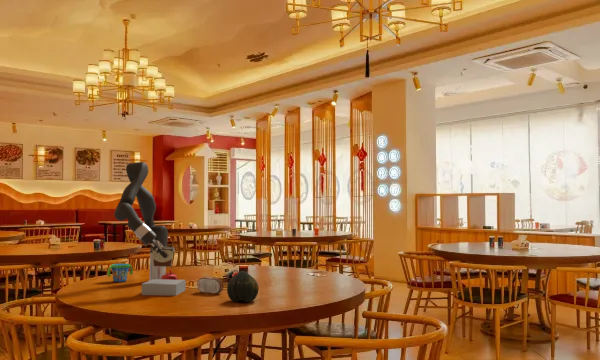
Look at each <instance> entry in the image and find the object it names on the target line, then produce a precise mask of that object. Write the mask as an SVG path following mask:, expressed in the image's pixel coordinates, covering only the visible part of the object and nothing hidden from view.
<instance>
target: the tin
mask: <svg viewBox="0 0 600 360" xmlns="http://www.w3.org/2000/svg"><path fill="white" fill-rule="evenodd" d="M196 285H197V286H196V287H197V289H198V291H199V292H200V293H202V294H209V293H211V295H218V294H221V293H222V292H223V290H224V282H223V281H222V279H221V278H220V277H214V276H213V277H212V276H203V277H200V278H199V279H198V280H197V283H196Z"/></svg>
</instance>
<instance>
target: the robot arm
mask: <svg viewBox="0 0 600 360" xmlns="http://www.w3.org/2000/svg"><path fill="white" fill-rule="evenodd" d="M125 168H126V169H125V172H126V175H127V178H128V180H129V182H130V183H129V184H128V185H127V186H126V187H125V188H124V190H123V192H122V195H121V197H120V200H119V203H118V204H117V206H116V207H115V209H114V214H113V215H114V217H115V219H116V220H118V221H120V222H121V221H123V222H124V221H125V220H127V227H128V228H129V229H130V230H131V231H132V232H133V233H134V234H135V236H136V238H138V239H139V240H140V241H141V242H142V243H143V244H144V245H145V246H148V245H149V247H150V249H149V281H150V280H152V279H161V277H162V276H163V275H165V274H167V271H166V270H167V269H166V268H167V267H154V266H153V252H152V251H151V250H152V248H153V249H154V250H155V251H156V252H157V253H159V254H161V255H162V257H163V258H166V257H167V256H168V255H167V254H166V253H165V252H164V251H163V250H162V249H161V247H168V241H169V240H168V237H169V232H168V231H169V230H168V228H167V226H165V225H156V224H155V220H154V215H155V212H156V209H157V205H156V204H157V203H156V201H155V198H154V195H153V194H152V192H150V191H149V190H148V189H147V188H146V187H145V186H144V185H143V184H144V183H145V181H146V179H147V176H148V174H149V166H148V164H147V163H146V162H144V161H139V162H131V163H128V164H127V165H126V166H125ZM136 200H137V203H138V207H139V209H140V212H141V215H142V218H143V220H141V218H139V216H138V214H137V212H136V210H135V209H134V206H133V205H134V203H135V201H136ZM165 272H166V273H165ZM163 273H164V274H163Z"/></svg>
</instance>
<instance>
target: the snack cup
mask: <svg viewBox="0 0 600 360" xmlns="http://www.w3.org/2000/svg"><path fill="white" fill-rule="evenodd" d="M111 271H112V273H111ZM133 272H134V270H133V266H132V265H131V264H130V263H112V264H110V266H109V267H108V269H107V277H108V278H110V277H111V274H112V280H113V282H114V283H122V282H127V280H128V276H129V275H130V276H131V275H133Z"/></svg>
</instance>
